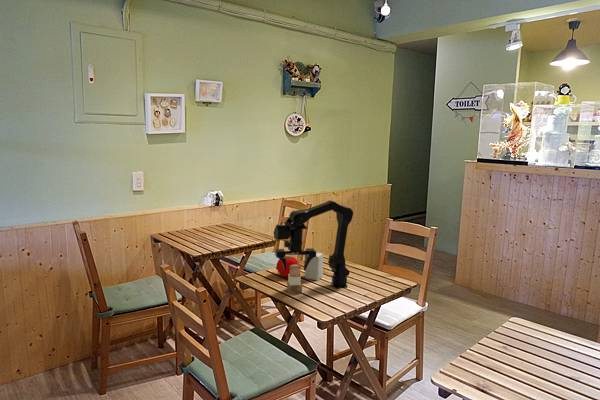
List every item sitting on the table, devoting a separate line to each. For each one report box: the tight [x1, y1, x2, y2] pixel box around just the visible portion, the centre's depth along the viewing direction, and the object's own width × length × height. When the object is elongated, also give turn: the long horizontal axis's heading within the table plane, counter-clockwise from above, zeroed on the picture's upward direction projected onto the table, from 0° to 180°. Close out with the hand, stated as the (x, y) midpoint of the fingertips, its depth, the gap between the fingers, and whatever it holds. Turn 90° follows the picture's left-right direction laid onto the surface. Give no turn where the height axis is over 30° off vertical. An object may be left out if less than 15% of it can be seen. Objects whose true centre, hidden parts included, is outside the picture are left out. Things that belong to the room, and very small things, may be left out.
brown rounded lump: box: [290, 264, 302, 277], centre depth 196 cm, size 5×5×4 cm
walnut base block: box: [286, 281, 303, 295], centre depth 197 cm, size 6×6×4 cm
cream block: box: [287, 274, 302, 285], centre depth 197 cm, size 5×5×4 cm
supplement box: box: [304, 252, 324, 281], centre depth 217 cm, size 7×7×13 cm
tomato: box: [275, 255, 300, 278], centre depth 218 cm, size 11×12×10 cm
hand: (294, 270), depth 196 cm, fingers open, 9 cm apart
